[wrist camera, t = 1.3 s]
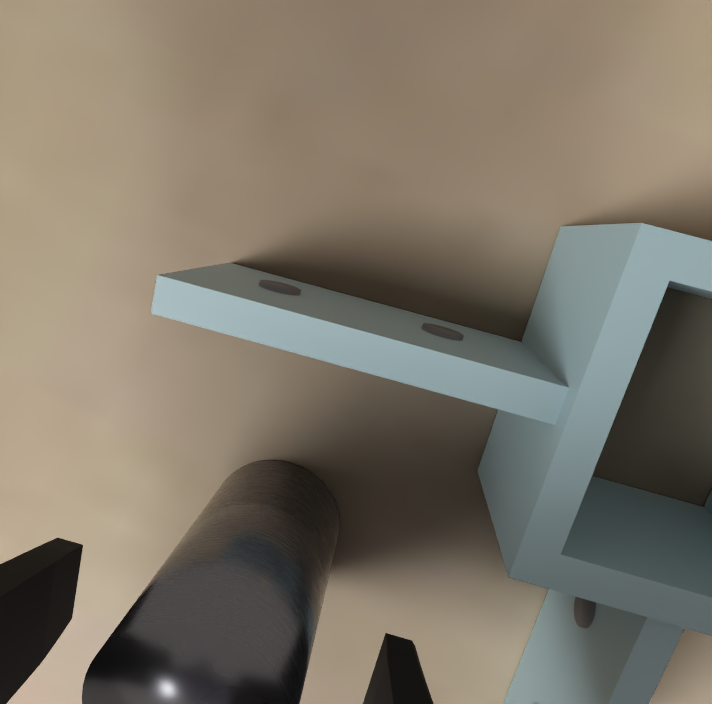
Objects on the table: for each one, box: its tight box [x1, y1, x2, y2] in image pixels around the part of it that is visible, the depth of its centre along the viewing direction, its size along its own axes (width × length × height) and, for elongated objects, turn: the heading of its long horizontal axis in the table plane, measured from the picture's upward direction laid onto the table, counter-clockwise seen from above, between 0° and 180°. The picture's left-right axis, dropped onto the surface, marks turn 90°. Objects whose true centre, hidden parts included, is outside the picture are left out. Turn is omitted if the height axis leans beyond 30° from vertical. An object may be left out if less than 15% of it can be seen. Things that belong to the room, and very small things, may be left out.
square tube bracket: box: [151, 223, 712, 704], centre depth 13 cm, size 15×16×5 cm
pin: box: [82, 460, 340, 704], centre depth 13 cm, size 4×4×7 cm
